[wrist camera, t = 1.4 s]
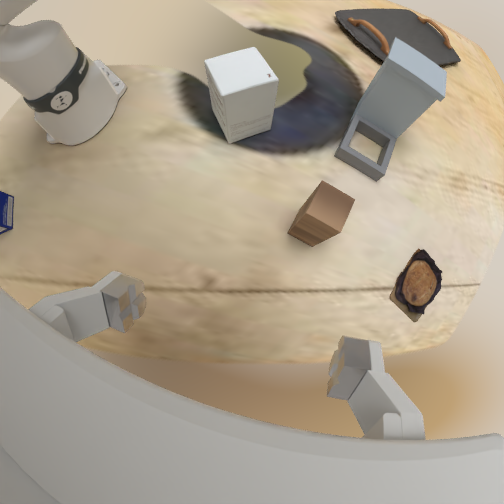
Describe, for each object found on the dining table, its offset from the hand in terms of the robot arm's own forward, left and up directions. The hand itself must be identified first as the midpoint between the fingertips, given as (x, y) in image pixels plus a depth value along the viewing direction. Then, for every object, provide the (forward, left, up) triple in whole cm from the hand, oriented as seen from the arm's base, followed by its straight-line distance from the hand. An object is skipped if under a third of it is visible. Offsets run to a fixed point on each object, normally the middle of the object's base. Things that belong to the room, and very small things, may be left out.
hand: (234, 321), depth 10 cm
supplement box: (-23, +13, -28) cm, 38 cm away
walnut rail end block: (-3, +12, -27) cm, 30 cm away
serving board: (-31, +66, -28) cm, 78 cm away
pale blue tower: (-11, +31, -27) cm, 43 cm away
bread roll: (+14, +24, -28) cm, 40 cm away
